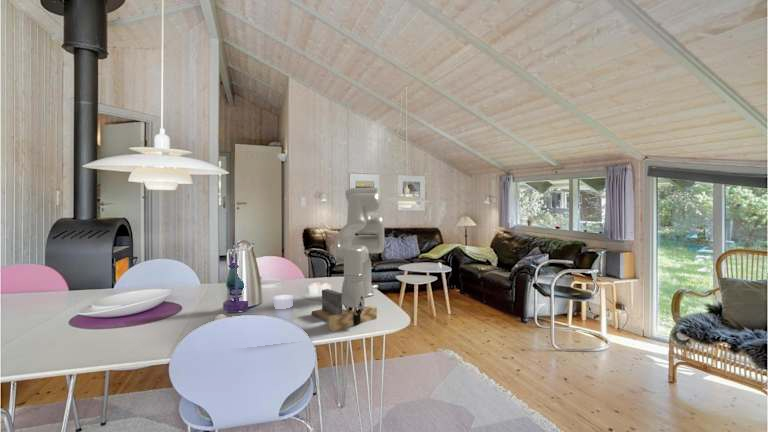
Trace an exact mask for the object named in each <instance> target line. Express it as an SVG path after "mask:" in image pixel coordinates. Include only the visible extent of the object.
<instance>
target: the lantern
mask: <svg viewBox="0 0 768 432" xmlns="http://www.w3.org/2000/svg"><path fill="white" fill-rule="evenodd" d="M236 245H237V244H235V245H232V246H230V247H229V248H228V249H229V250H230V252H231V251H232V250H231V249H235V247H236V248H237V246H238V245H237V246H236ZM232 247H233V248H232ZM230 248H231V249H230ZM233 259H234V258H233V257H232V255H231V254H230V257H229V264H230V265H229V264H228V268H229V271H228V273H227V279H226V284H225V286H226V288H227V290H228V292H229V296H228V297H229V298H230V299H234V301H232V300H229V299H227V300H225V301H223V304H222V308H223V311H224V310H225V311H224V312H226V311H227V312H226V313H228V312H239V311H243V312H245V311H244V310H246V311H248V310H249V309H248V301H239V298H243V297H242V293H241V292H242V290H243V288H244V283H243V281H241V279H240V278H239V277H238V274H237V268H238V267H239V266H238V265H237V253H235V263H232V261H233ZM244 289H245V288H244ZM243 291H244V290H243ZM247 309H248V310H247ZM239 313H240V312H239Z"/></svg>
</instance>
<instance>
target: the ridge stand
mask: <svg viewBox="0 0 768 432" xmlns="http://www.w3.org/2000/svg"><path fill="white" fill-rule="evenodd" d="M344 312H346V309H344V308H343V304H342V292H340V291H336V290H333V289H329V288H324V289H321V308H320V309H316V310H313V311H311V315H312V316H313V317H316V318H318V319H321V320H324V321H326V322H328V323H329V316H332V315H336V314H340V313H344Z"/></svg>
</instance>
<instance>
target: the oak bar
mask: <svg viewBox="0 0 768 432" xmlns="http://www.w3.org/2000/svg"><path fill="white" fill-rule="evenodd" d="M377 309H378V308H377V306H374V305H368V306H365V310H364V311H362V313H361V314H360V319H361V323H360V324H364V323H367V322H370V321H374V320H377V319H378V317H377V315H378V314H377V313H378V312H377ZM357 310H358V308H357ZM353 315H355V314H354V309H353V310H352V311H348V312H344V313H340V314H336V315H332V316H329V322H328V330H331V331H333V332H336V331H340V330H342V329H346V328H350V327H353V326H355V325H354V316H353Z"/></svg>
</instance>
